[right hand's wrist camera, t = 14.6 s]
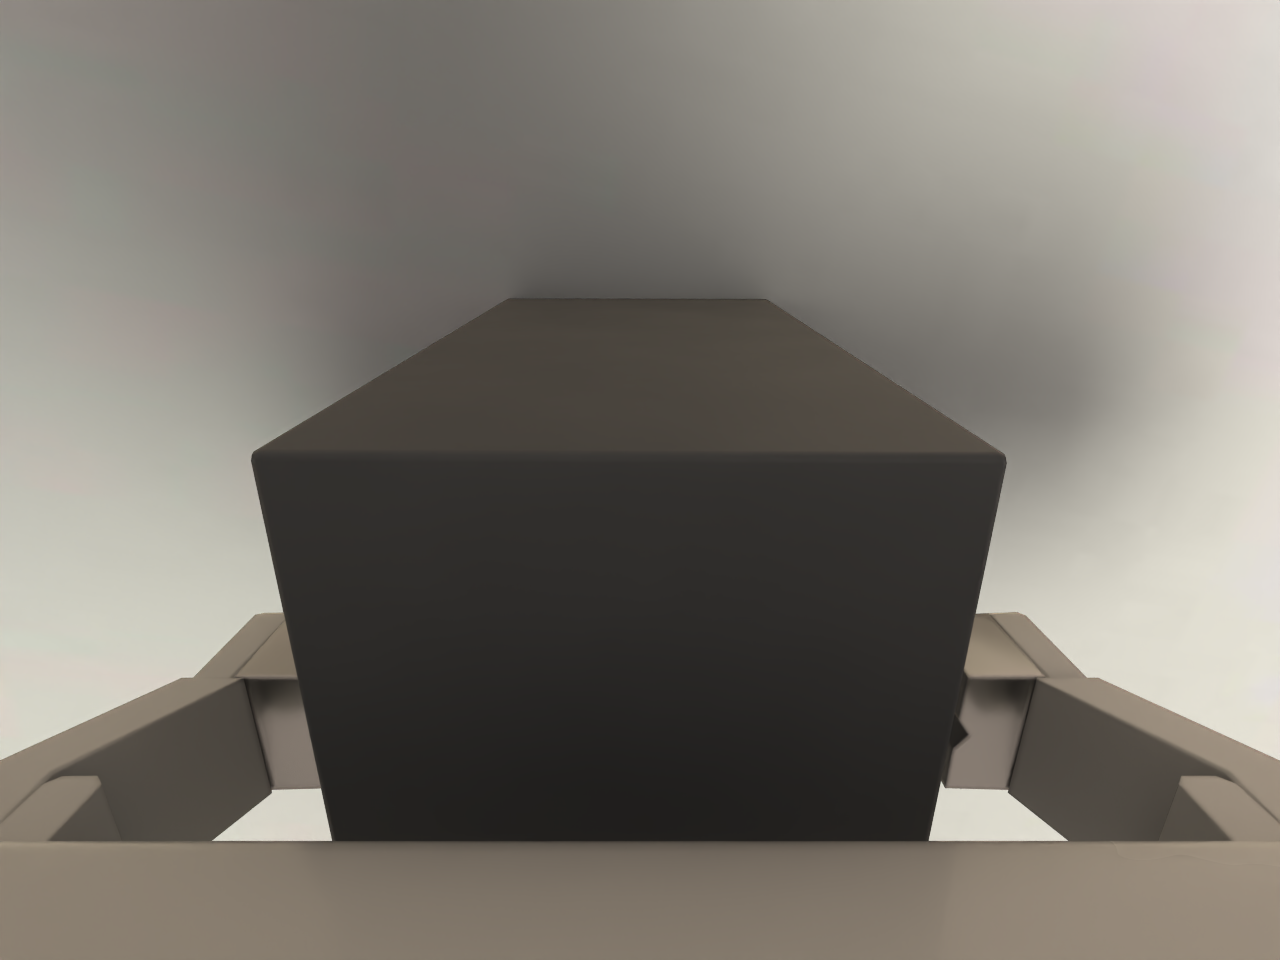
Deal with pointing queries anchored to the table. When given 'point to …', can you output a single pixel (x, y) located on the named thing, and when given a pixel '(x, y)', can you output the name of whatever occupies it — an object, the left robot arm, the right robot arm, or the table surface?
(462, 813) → the box
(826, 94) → the table surface
